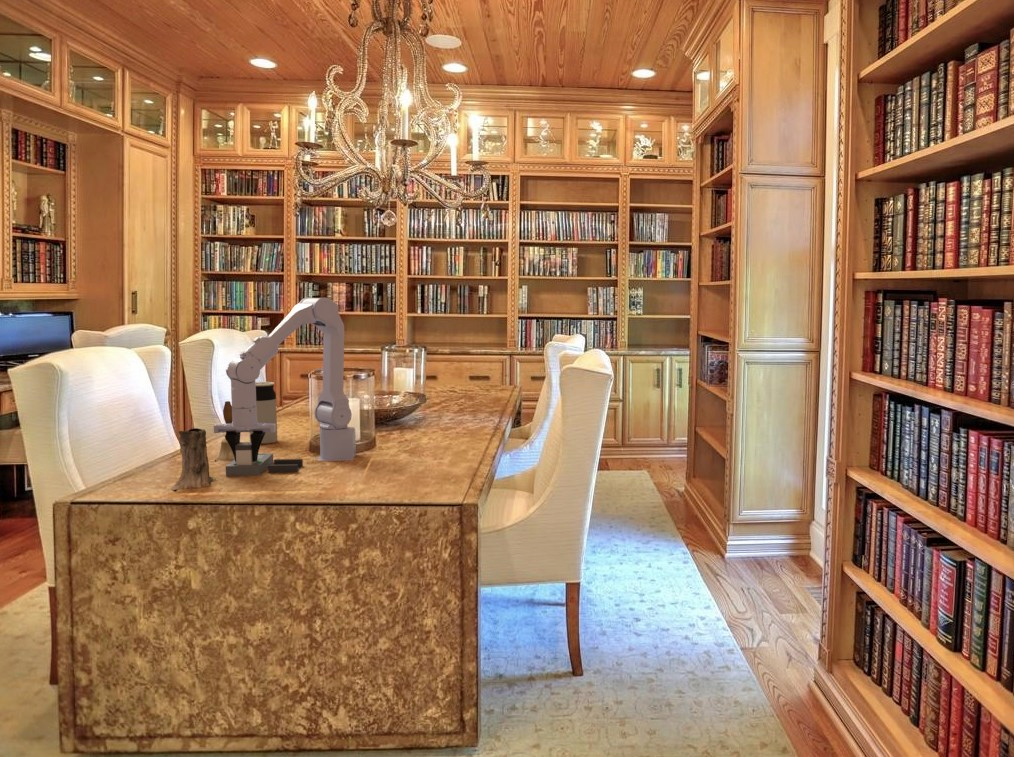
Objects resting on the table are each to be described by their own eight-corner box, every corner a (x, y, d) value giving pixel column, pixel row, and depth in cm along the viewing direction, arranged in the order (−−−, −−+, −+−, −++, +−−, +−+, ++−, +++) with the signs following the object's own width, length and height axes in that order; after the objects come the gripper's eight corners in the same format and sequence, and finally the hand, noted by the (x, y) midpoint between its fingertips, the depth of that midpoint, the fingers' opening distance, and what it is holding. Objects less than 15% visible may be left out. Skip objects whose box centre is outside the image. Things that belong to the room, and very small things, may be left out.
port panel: (273, 464, 190) (273, 451, 190) (259, 477, 177) (259, 464, 176) (242, 464, 190) (241, 452, 189) (226, 478, 176) (225, 464, 176)
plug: (255, 467, 181) (254, 442, 180) (251, 471, 177) (250, 445, 176) (240, 467, 181) (239, 442, 180) (236, 471, 177) (235, 445, 176)
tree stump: (170, 493, 162) (168, 434, 161) (172, 483, 171) (170, 427, 170) (218, 489, 166) (216, 432, 165) (217, 480, 175) (215, 425, 174)
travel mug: (283, 441, 221) (281, 382, 218) (261, 445, 214) (259, 385, 212) (265, 438, 225) (263, 380, 223) (244, 442, 218) (241, 383, 216)
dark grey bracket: (302, 467, 187) (302, 458, 186) (297, 474, 180) (296, 465, 179) (275, 468, 186) (274, 459, 186) (268, 475, 179) (268, 465, 179)
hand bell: (236, 463, 191) (233, 404, 190) (208, 461, 193) (205, 403, 191) (253, 456, 200) (250, 399, 198) (226, 455, 201) (223, 398, 199)
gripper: (208, 409, 173) (211, 465, 175) (270, 409, 174) (272, 464, 176) (217, 405, 180) (220, 458, 182) (277, 404, 181) (279, 457, 183)
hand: (246, 460), depth 179 cm, fingers closed on plug, 3 cm apart
